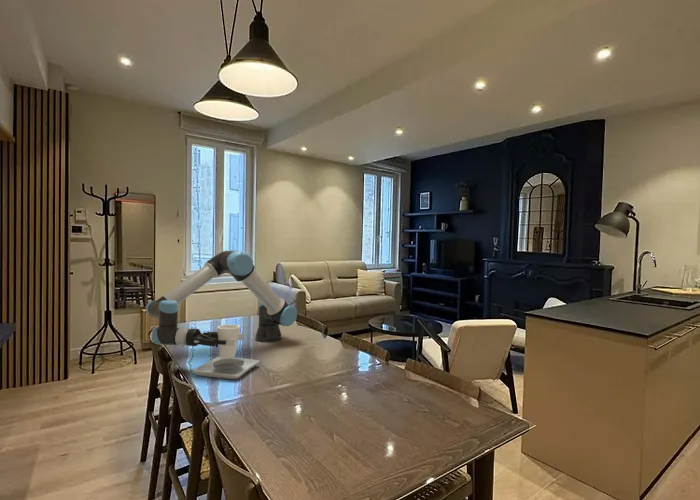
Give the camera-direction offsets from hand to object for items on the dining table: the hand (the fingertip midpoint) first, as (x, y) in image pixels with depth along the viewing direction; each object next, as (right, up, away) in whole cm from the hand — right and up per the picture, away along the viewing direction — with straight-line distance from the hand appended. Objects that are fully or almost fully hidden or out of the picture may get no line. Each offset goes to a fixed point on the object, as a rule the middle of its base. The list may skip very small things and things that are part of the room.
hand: (238, 339), depth 167 cm
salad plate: (-5, -15, +1) cm, 16 cm away
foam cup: (-5, -8, 0) cm, 9 cm away
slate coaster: (-5, -11, +1) cm, 12 cm away
